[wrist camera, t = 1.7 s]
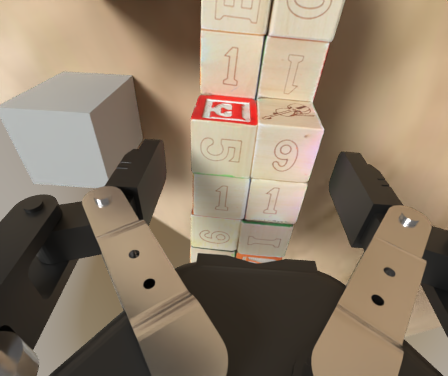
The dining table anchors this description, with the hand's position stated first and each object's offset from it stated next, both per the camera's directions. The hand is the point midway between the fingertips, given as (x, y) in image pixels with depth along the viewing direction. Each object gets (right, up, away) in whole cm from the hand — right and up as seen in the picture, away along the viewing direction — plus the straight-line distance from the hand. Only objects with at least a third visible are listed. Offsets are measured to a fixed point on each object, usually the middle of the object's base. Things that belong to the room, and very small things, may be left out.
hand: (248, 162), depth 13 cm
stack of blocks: (+1, +8, +10) cm, 13 cm away
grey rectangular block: (-12, +6, +12) cm, 18 cm away
